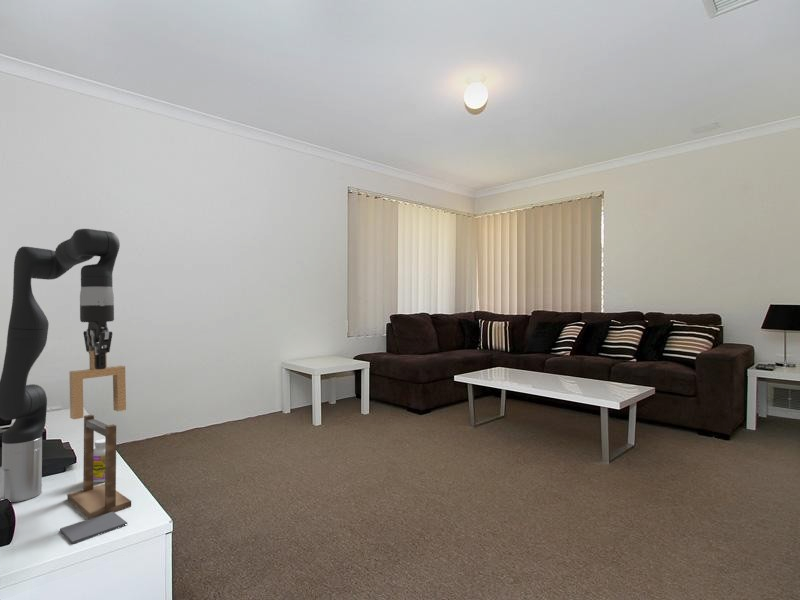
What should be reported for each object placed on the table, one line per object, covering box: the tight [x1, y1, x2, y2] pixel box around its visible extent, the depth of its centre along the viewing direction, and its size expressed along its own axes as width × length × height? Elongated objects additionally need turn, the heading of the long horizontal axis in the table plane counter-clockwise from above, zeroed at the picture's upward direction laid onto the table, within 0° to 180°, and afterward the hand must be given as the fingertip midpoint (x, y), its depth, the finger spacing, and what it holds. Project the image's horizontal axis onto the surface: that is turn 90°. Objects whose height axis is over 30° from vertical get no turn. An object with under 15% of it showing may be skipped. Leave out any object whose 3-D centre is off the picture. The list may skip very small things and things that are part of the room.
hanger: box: [68, 350, 127, 420], centre depth 118 cm, size 12×3×17 cm, turn 143°
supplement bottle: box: [93, 438, 105, 484], centre depth 147 cm, size 7×7×13 cm
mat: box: [59, 512, 128, 545], centre depth 115 cm, size 12×10×1 cm
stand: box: [67, 414, 132, 519], centre depth 130 cm, size 10×20×24 cm, turn 51°
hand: (98, 368), depth 118 cm, fingers closed on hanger, 3 cm apart
